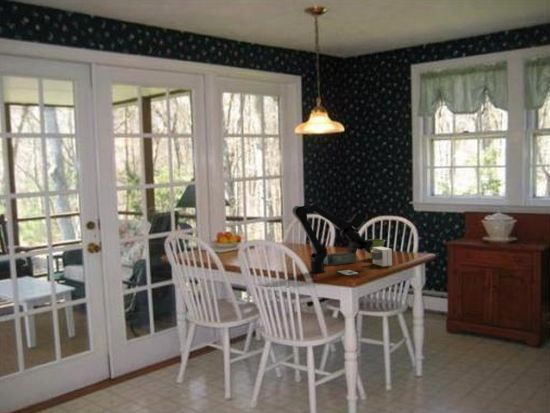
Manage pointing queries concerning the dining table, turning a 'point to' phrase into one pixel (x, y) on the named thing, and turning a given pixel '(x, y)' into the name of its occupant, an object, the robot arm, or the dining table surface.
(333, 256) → the beverage carton
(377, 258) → the charcoal button
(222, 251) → the dining table surface
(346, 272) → the card
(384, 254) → the console
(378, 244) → the plant pot
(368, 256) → the amber button
